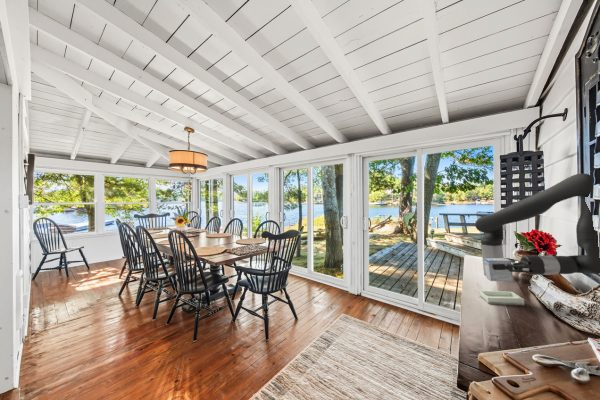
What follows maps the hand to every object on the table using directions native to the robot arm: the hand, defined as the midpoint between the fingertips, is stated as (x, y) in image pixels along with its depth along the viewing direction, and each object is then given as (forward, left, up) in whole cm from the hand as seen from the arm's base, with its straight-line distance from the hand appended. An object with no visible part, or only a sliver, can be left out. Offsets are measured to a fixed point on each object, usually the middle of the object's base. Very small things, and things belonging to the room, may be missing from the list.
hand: (490, 265), depth 100 cm
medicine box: (0, +3, -6) cm, 7 cm away
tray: (0, +3, -15) cm, 15 cm away
